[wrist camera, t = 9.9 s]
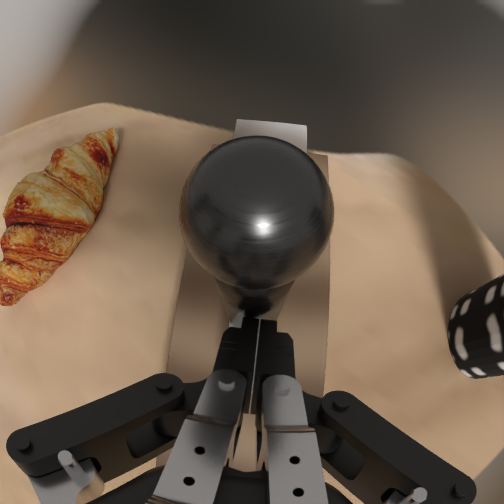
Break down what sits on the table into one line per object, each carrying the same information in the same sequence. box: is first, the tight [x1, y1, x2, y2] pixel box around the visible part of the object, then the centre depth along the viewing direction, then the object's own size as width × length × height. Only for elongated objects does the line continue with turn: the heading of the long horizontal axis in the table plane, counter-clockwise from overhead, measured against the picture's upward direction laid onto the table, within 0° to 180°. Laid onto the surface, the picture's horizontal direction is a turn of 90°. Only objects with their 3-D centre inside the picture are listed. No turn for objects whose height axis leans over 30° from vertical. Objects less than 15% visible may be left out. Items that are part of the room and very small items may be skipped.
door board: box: [156, 119, 330, 472], centre depth 19 cm, size 26×10×8 cm, turn 174°
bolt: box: [179, 135, 334, 393], centre depth 13 cm, size 12×4×14 cm, turn 174°
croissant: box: [0, 128, 119, 306], centre depth 23 cm, size 21×10×8 cm, turn 159°
